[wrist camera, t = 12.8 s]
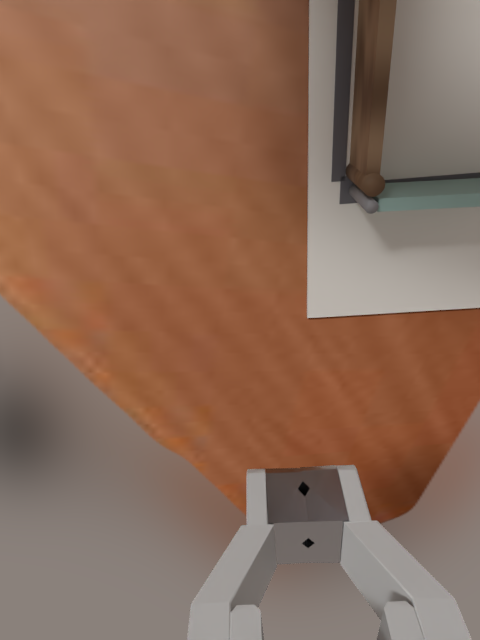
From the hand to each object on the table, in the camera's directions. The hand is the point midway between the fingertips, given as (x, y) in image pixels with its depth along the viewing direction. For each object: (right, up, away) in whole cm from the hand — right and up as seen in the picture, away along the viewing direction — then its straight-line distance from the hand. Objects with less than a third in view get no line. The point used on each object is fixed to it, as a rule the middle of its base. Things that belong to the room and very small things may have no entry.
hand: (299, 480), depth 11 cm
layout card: (+14, +18, +23) cm, 32 cm away
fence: (+8, +23, +20) cm, 31 cm away
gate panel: (+14, +16, +23) cm, 32 cm away
